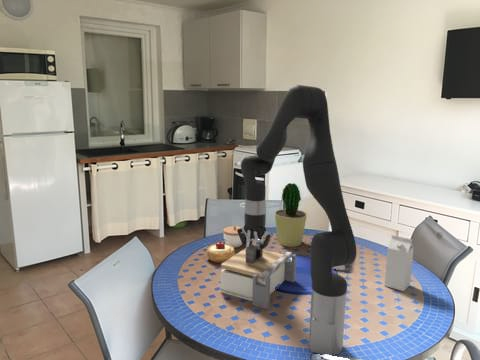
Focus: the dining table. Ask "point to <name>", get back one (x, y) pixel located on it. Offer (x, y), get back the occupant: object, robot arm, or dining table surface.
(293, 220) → the potted cactus
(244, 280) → the white open box
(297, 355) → the dining table surface
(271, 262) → the door
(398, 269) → the milk carton
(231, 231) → the lidded jar
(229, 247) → the pastry
